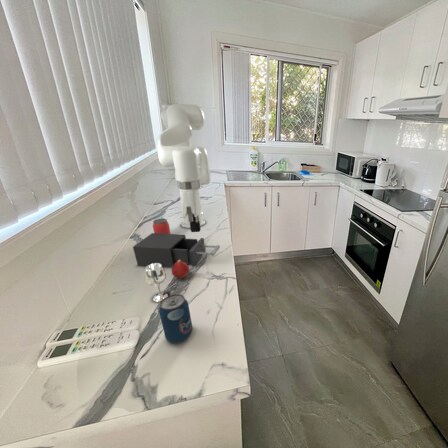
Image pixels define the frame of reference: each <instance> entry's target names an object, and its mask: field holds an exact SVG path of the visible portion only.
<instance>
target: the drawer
mask: <svg viewBox="0 0 448 448" xmlns="http://www.w3.org/2000/svg"><path fill="white" fill-rule="evenodd" d="M204 238H205V237H200V238H199V239H198V238H186V239H184V238H183V239H182V240H181V241H180V242H179V243H178V244H177V245H176V246H175V247H174V248H173V249H171V250H172V255H173V260H174V263H176V262H177V261H178V260H181V261H182V262H185V263H186V264H187V265H189V264H191V266H193V267H194V266H196V265H197V263H198V262H199V261H200V260H201V258H202V257H203V256H205V255H206V256H207V255H208V256H212V257H214V256H215V255H216V253H217V252H218V251H219V249H220V248H221V245H219V244H217V245H206V244H205V239H204ZM206 248H214V249H213V250H212V251H211V252H206Z"/></svg>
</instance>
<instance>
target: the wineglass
mask: <svg viewBox="0 0 448 448" xmlns="http://www.w3.org/2000/svg"><path fill="white" fill-rule="evenodd" d="M166 276H167V273H166V270H165V267H163V266H162V265H161V264H160V263H154V264H150V265H148V266H145V268H144V279H145V282H146V283H147V284H148V285H149V286H156V289H157V291H158V293H157V294H155V295H154V296H153V298H152V300H153V301H154V302H157V303H158V302H162V300H163V299H165V298H166V297H168V296H169V294H168V292H161V289H160V287H161V284H162V283H164V282H165V280H166Z"/></svg>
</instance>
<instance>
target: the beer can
mask: <svg viewBox="0 0 448 448" xmlns="http://www.w3.org/2000/svg"><path fill="white" fill-rule="evenodd" d="M152 229H153V233H160V234H172V233H171V227H170V224H169V222H168V219H167V218H157V219H155V220H153V222H152Z"/></svg>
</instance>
